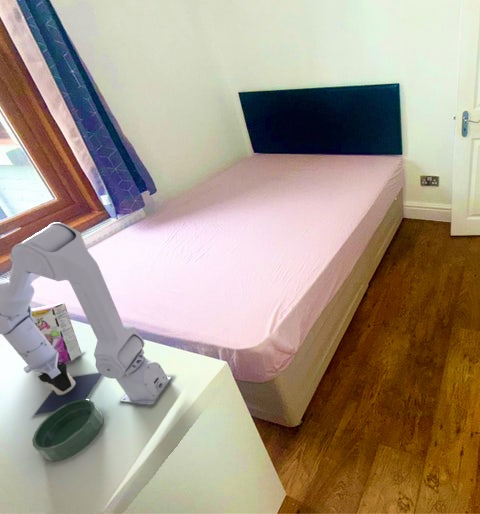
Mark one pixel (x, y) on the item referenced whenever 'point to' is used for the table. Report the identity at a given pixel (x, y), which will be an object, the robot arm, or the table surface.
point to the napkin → (70, 393)
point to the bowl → (68, 430)
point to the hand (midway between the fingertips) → (63, 384)
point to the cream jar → (65, 390)
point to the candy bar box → (57, 330)
